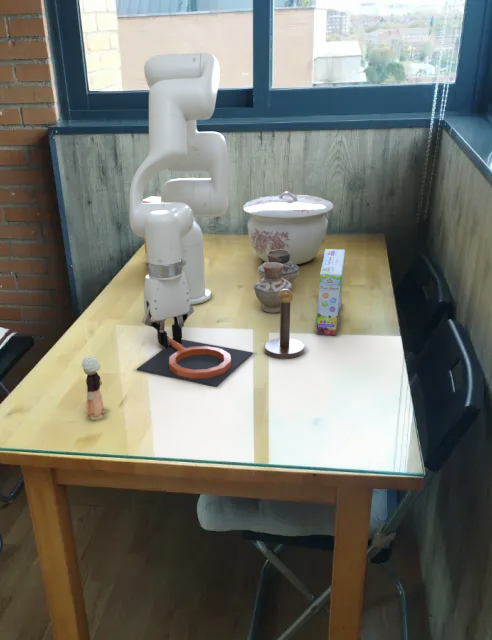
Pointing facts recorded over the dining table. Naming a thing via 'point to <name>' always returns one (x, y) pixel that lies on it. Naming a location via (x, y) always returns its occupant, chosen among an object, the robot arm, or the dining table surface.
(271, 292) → the pottery
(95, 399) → the grandmother figurine
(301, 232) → the chamber pot
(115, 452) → the dining table surface
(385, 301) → the dining table surface
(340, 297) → the snack box
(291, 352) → the coat peg
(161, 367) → the mat
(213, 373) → the orange ring with handle
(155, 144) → the robot arm
